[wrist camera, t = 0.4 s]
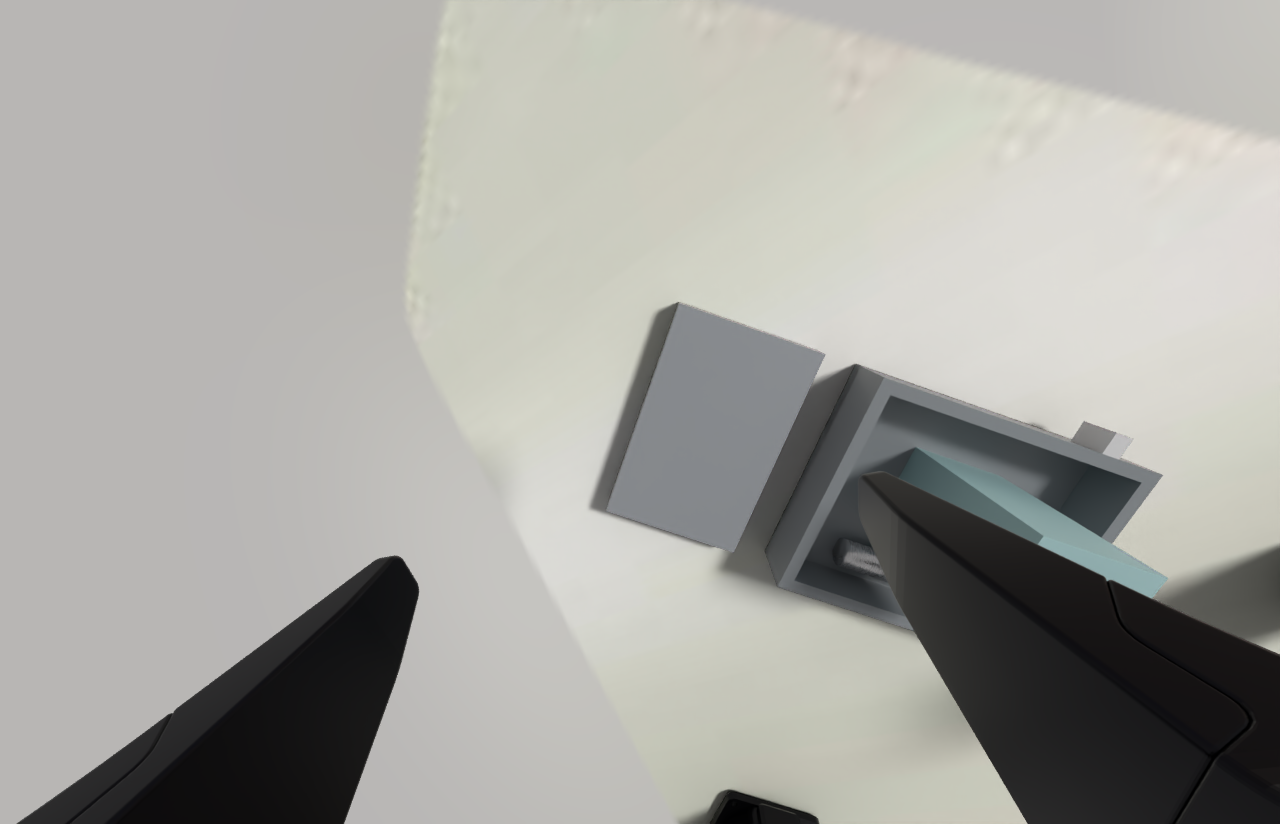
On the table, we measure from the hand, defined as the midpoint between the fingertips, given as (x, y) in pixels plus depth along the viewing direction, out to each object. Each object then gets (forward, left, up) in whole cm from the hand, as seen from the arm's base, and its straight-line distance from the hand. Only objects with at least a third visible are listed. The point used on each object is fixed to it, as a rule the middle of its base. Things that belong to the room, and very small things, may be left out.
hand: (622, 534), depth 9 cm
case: (-2, -16, -15) cm, 21 cm away
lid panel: (-2, -4, -15) cm, 15 cm away
